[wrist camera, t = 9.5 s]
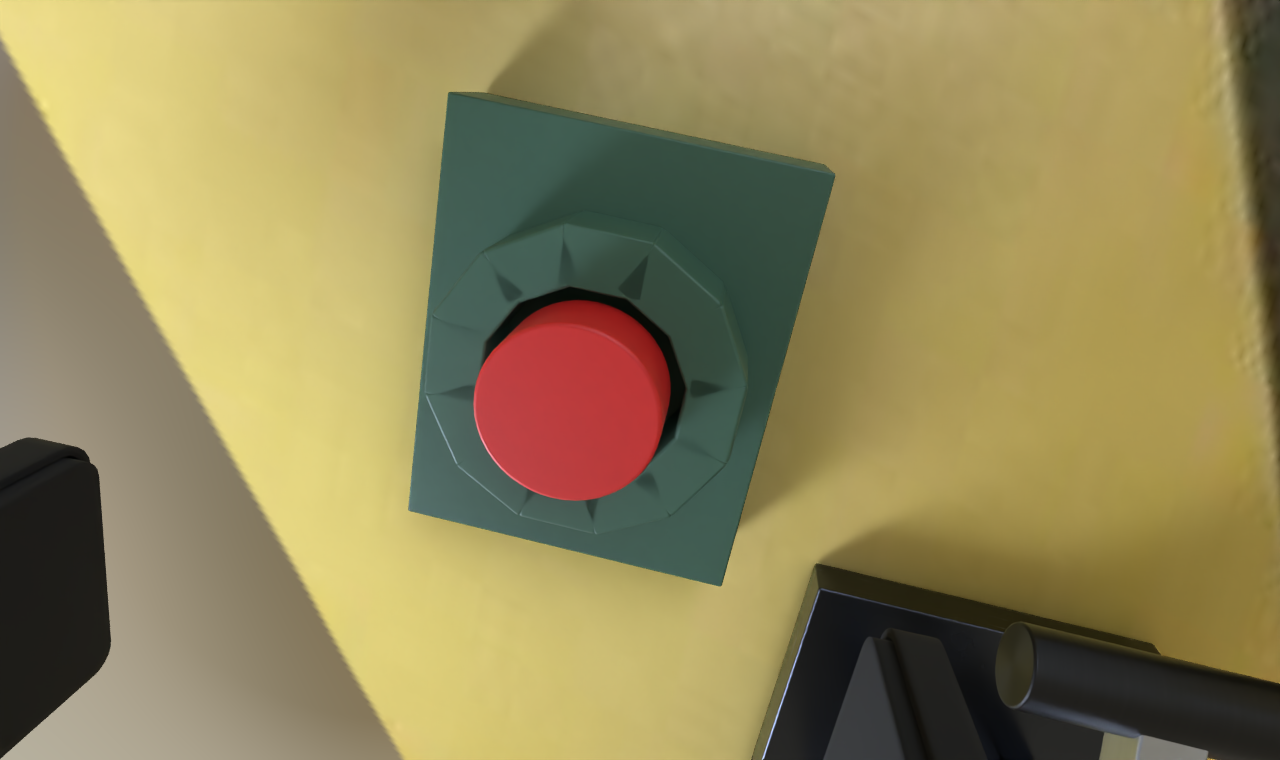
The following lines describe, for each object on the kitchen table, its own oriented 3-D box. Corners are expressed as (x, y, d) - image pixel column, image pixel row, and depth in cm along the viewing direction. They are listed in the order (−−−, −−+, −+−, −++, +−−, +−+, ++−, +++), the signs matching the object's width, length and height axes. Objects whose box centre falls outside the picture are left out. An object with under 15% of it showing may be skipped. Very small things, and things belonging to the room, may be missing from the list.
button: (511, 281, 15) (483, 303, 14) (687, 321, 15) (680, 348, 14) (490, 441, 17) (462, 478, 15) (652, 479, 17) (641, 521, 15)
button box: (482, 91, 18) (411, 90, 14) (825, 164, 17) (847, 183, 14) (440, 471, 21) (375, 550, 18) (724, 539, 21) (718, 635, 17)
